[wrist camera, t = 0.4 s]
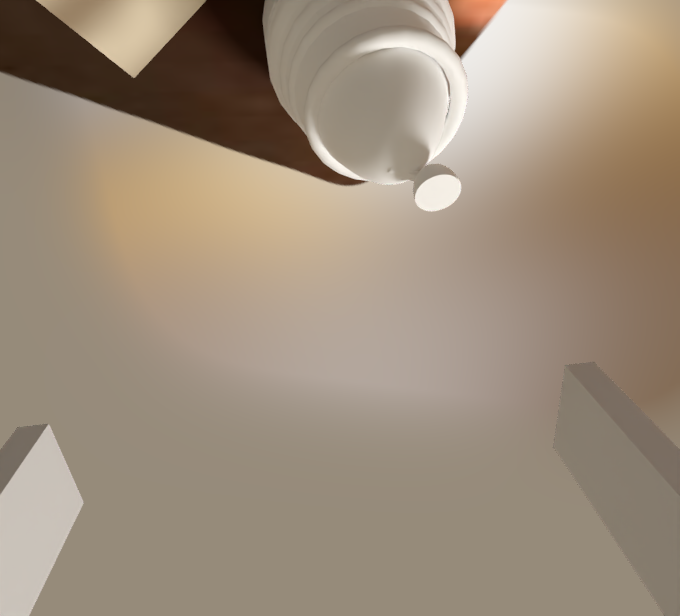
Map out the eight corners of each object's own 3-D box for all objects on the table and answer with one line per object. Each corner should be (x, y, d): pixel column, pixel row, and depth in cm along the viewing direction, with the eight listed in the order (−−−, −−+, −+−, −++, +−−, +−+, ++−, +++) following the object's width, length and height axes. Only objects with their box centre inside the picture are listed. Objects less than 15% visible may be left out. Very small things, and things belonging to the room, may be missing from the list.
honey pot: (469, -37, 35) (583, 112, 24) (387, 122, 44) (444, 278, 33) (294, -118, 30) (342, 25, 19) (243, 80, 39) (257, 249, 28)
